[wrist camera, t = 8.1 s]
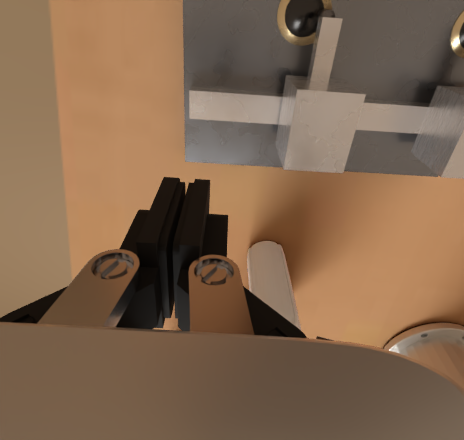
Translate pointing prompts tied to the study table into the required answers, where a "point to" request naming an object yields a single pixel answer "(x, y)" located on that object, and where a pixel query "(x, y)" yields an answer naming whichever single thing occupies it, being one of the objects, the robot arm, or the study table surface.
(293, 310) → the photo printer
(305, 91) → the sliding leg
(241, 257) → the study table surface
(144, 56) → the study table surface
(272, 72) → the base plate
